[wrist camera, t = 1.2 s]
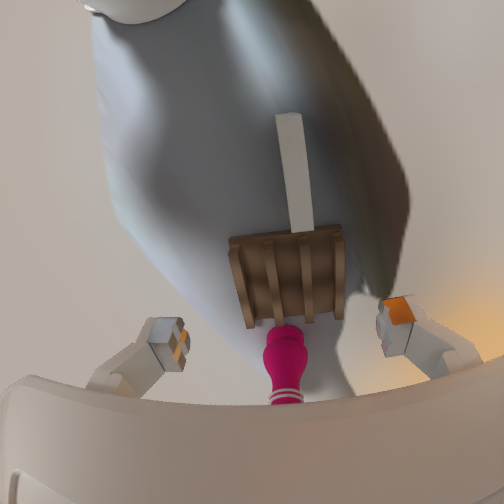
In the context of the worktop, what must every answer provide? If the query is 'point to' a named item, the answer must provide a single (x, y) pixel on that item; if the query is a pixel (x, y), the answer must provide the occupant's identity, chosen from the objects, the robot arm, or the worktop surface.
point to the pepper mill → (285, 364)
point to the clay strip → (295, 170)
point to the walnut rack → (289, 274)
